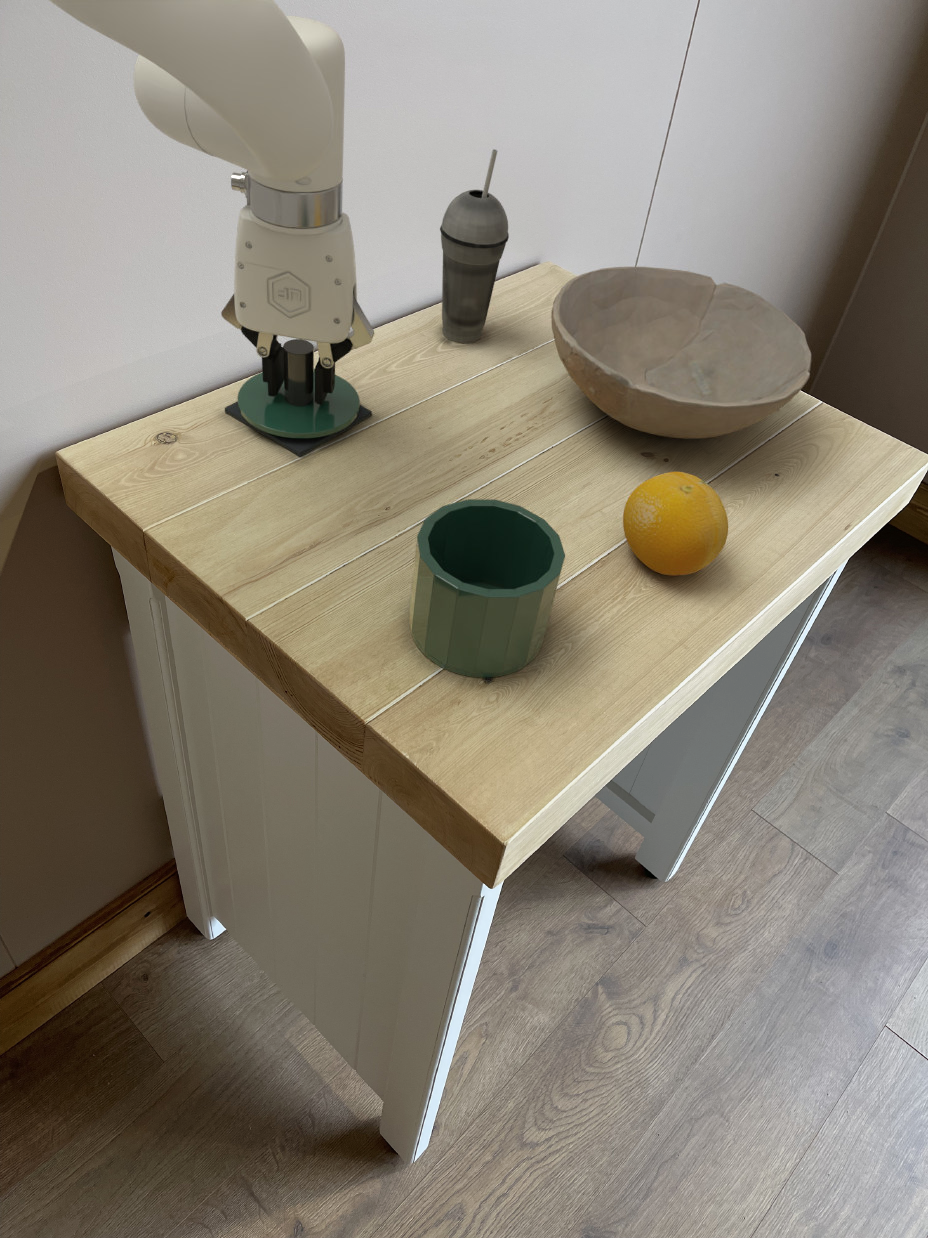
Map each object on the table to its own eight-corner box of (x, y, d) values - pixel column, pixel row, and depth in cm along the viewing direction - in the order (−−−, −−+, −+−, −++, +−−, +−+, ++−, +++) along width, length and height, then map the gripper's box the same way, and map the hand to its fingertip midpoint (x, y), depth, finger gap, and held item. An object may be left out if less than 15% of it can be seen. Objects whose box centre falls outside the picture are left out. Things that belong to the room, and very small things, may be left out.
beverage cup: (455, 310, 108) (476, 127, 94) (506, 333, 105) (535, 149, 91) (417, 331, 103) (433, 142, 89) (469, 356, 101) (494, 166, 87)
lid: (212, 406, 88) (206, 343, 83) (298, 364, 95) (297, 303, 90) (300, 459, 84) (299, 395, 79) (383, 411, 91) (387, 349, 86)
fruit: (728, 566, 81) (759, 494, 75) (676, 607, 76) (705, 533, 71) (648, 515, 85) (672, 443, 79) (594, 551, 80) (616, 477, 75)
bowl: (816, 411, 101) (854, 328, 94) (716, 524, 85) (752, 433, 78) (612, 322, 110) (632, 240, 103) (486, 408, 94) (500, 318, 87)
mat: (224, 412, 88) (224, 407, 88) (298, 374, 95) (298, 370, 94) (300, 457, 85) (300, 452, 85) (371, 415, 91) (372, 410, 91)
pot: (381, 628, 71) (387, 545, 65) (464, 562, 77) (476, 481, 71) (491, 700, 67) (508, 620, 61) (568, 625, 74) (591, 545, 68)
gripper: (179, 198, 73) (200, 399, 86) (388, 233, 72) (377, 429, 85) (210, 164, 78) (225, 358, 91) (404, 197, 78) (392, 387, 91)
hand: (299, 391), depth 88 cm, fingers open, 3 cm apart
